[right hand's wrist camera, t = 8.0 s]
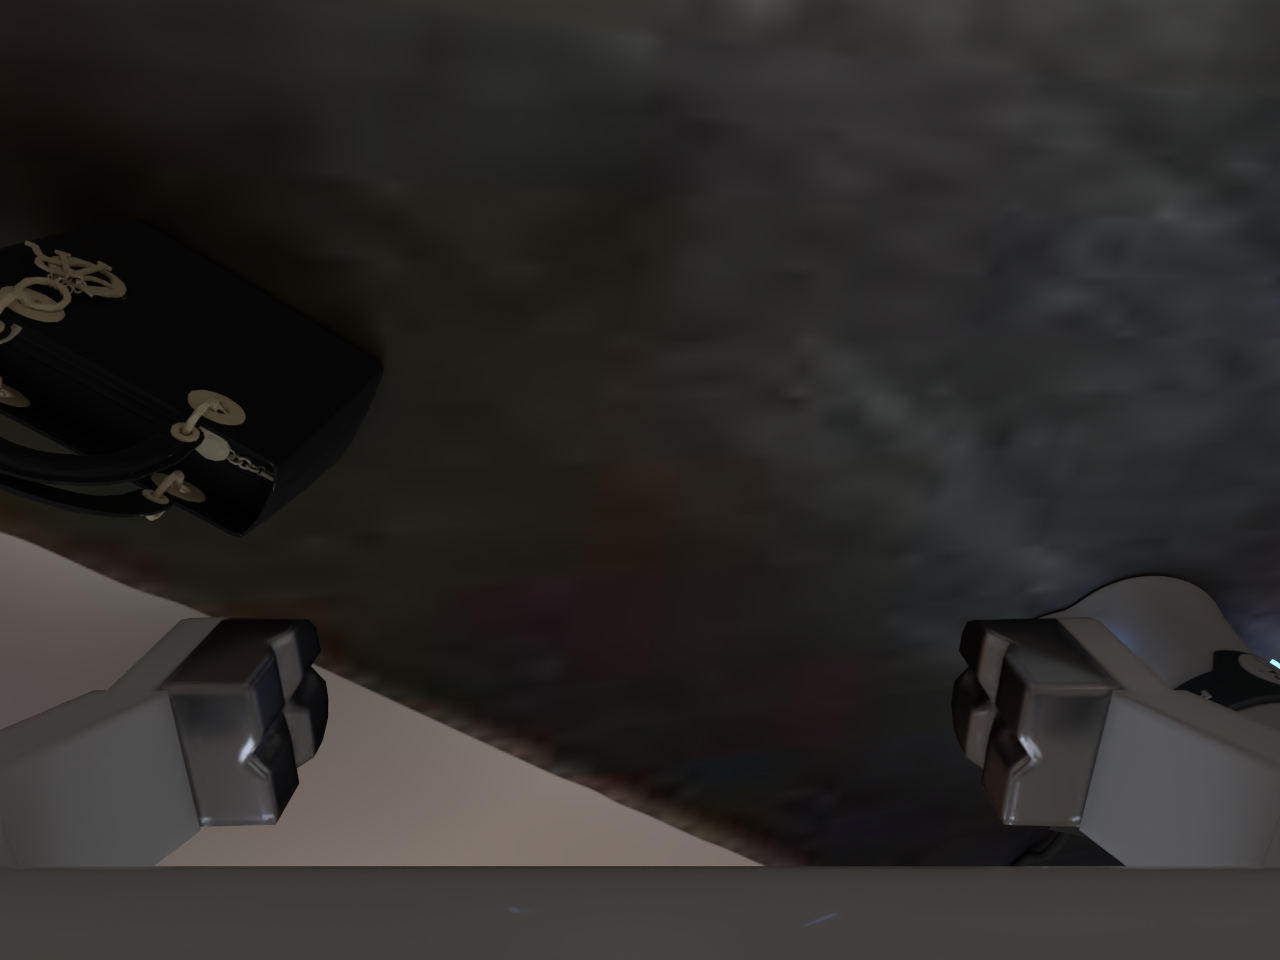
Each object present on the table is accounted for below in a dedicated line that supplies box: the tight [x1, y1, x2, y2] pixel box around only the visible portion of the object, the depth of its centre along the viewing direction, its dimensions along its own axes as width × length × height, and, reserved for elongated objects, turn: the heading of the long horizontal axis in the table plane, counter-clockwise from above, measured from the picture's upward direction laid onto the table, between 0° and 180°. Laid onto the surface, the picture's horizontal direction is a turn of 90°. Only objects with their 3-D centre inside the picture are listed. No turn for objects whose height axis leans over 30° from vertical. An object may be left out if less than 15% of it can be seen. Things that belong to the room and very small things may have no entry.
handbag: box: [0, 219, 383, 537], centre depth 45 cm, size 21×9×25 cm, turn 57°
